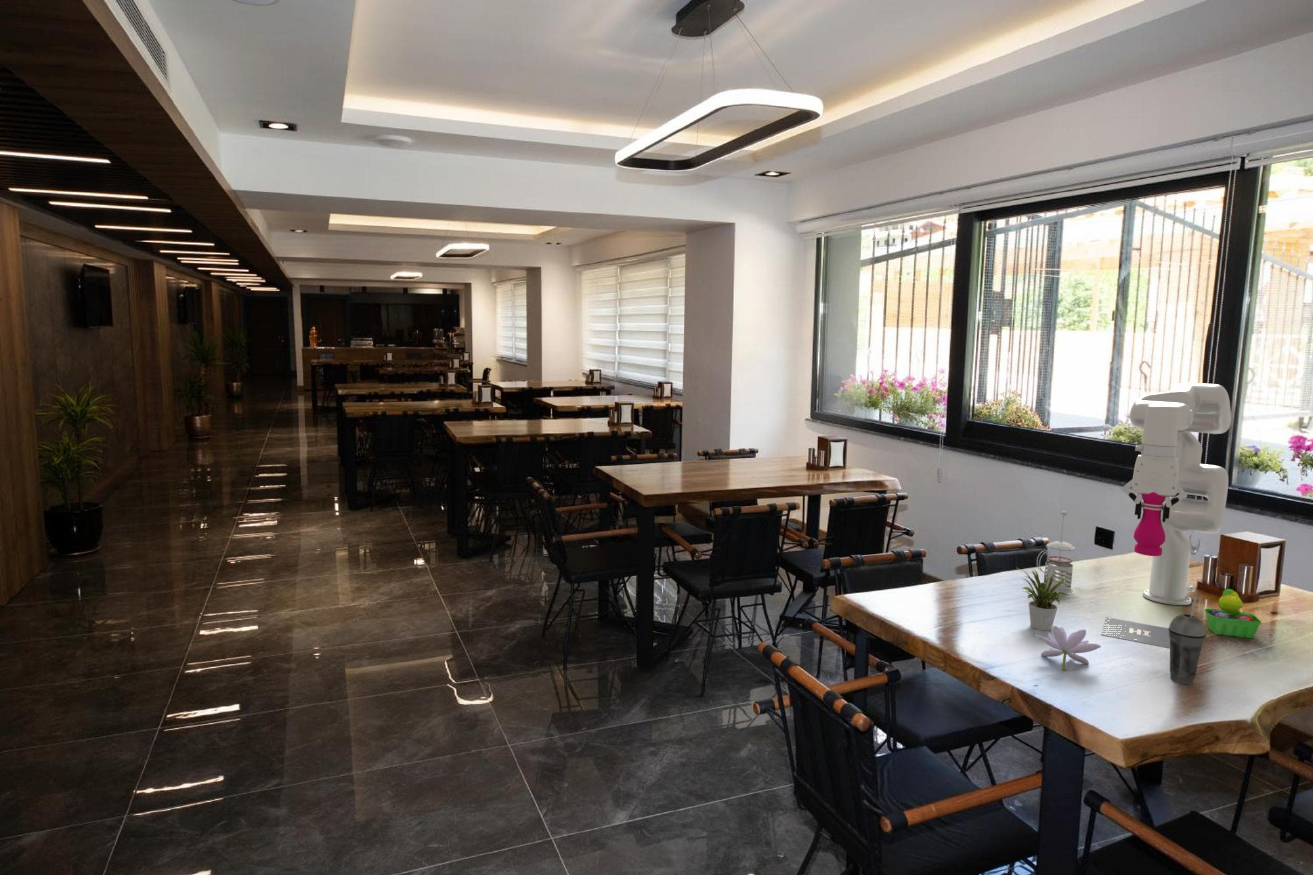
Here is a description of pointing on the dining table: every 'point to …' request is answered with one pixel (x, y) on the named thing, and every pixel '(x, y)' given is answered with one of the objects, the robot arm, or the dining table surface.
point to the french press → (1059, 565)
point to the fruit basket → (1232, 617)
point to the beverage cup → (1185, 646)
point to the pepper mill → (1150, 526)
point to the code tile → (1139, 632)
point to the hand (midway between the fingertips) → (1151, 518)
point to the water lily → (1067, 645)
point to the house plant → (1043, 602)
